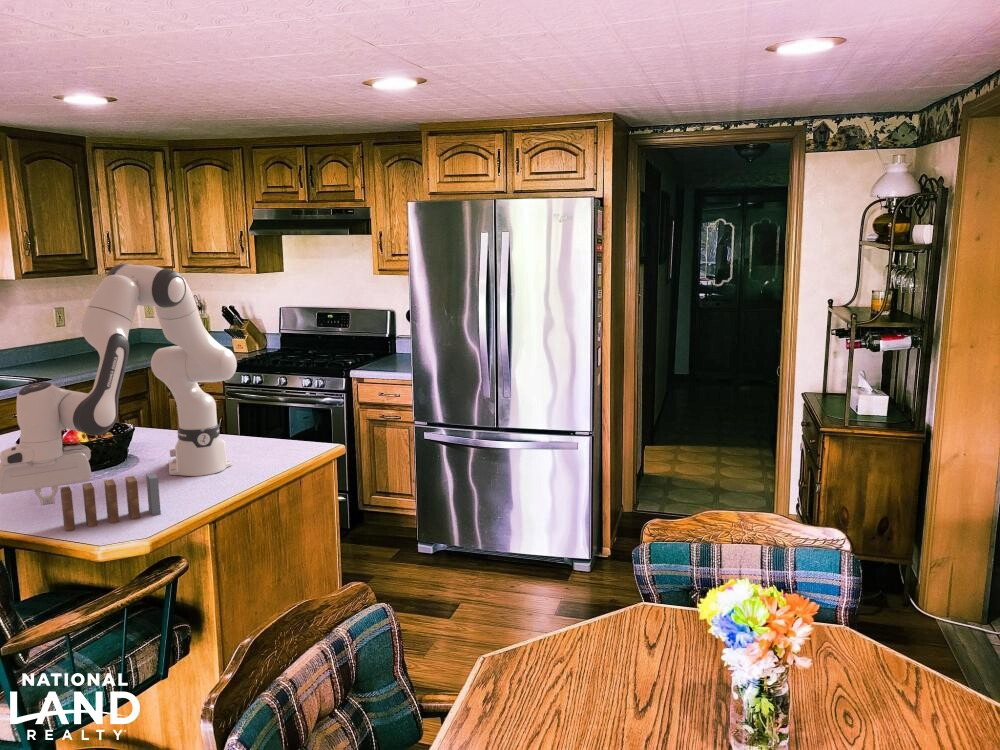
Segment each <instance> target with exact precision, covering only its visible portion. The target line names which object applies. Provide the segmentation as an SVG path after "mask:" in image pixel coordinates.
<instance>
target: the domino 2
mask: <svg viewBox="0 0 1000 750" xmlns="http://www.w3.org/2000/svg"><path fill="white" fill-rule="evenodd" d="M81 485H82V493H83V494H82V495H83V505H84V514H85V522H86V525H87V526H88V528H94V527H97V526H98V516H97V515H98V514H97V505H96V496H95V487H94V485H93V484H92V482H86V483H82V484H81Z"/></svg>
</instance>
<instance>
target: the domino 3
mask: <svg viewBox="0 0 1000 750" xmlns="http://www.w3.org/2000/svg"><path fill="white" fill-rule="evenodd" d="M103 481H104V482H103V483H104V493H105V494H104V495H105V503H106V504H105V506H106V513H107V515H106V516H107V519H108V521H109V523H110V524H114V523H118V522H120V515H119V506H118V504H119V503H118V493H117V484H116V481H114V479H113V478H111V479H105V480H103Z"/></svg>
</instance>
